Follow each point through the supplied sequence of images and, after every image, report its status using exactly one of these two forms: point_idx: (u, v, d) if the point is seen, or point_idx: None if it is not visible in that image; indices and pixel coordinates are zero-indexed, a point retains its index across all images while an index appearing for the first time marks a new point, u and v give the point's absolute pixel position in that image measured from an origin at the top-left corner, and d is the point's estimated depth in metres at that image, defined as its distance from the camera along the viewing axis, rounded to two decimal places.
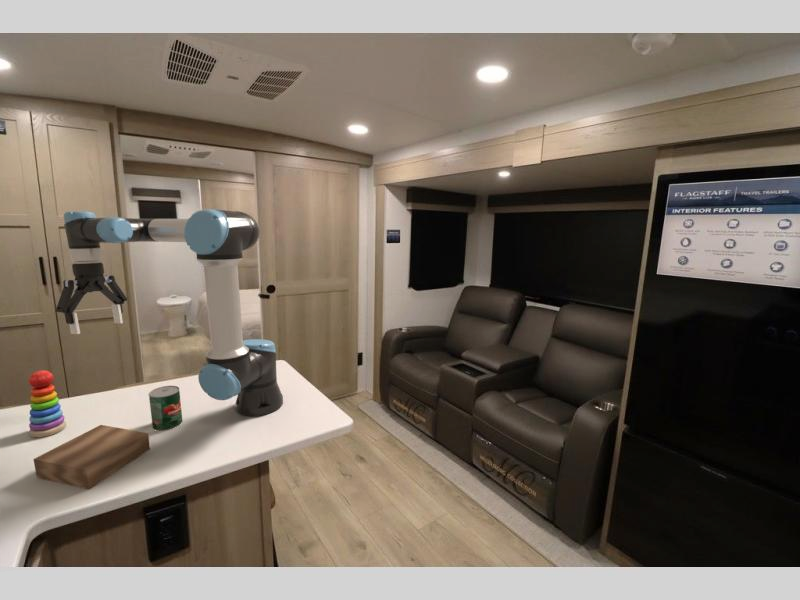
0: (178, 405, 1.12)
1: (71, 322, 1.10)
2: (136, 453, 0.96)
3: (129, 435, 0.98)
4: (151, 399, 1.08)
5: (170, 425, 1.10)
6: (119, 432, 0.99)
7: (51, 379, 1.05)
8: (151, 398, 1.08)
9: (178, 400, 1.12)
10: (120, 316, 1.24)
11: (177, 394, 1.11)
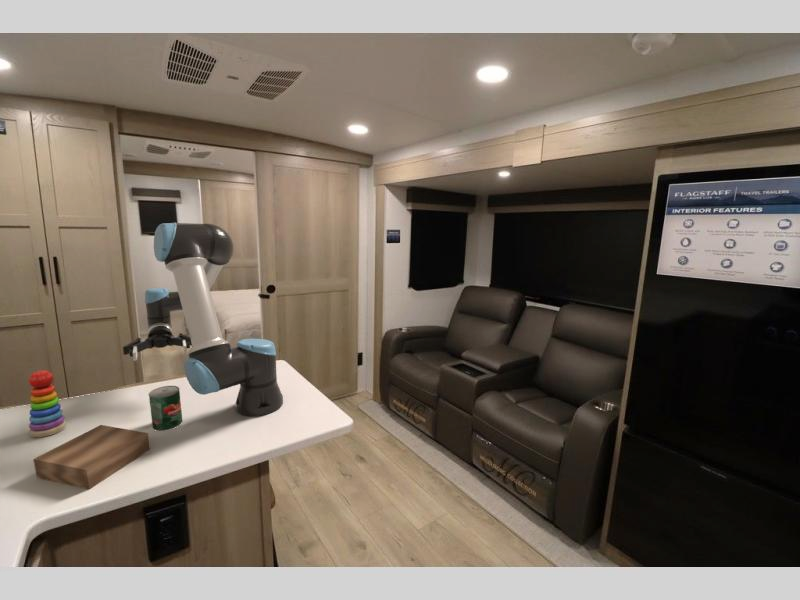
0: (178, 405, 1.12)
1: (130, 351, 1.16)
2: (136, 453, 0.96)
3: (129, 435, 0.98)
4: (151, 399, 1.08)
5: (170, 425, 1.10)
6: (119, 432, 0.99)
7: (51, 379, 1.05)
8: (151, 398, 1.08)
9: (178, 400, 1.12)
10: (184, 343, 1.22)
11: (177, 394, 1.11)
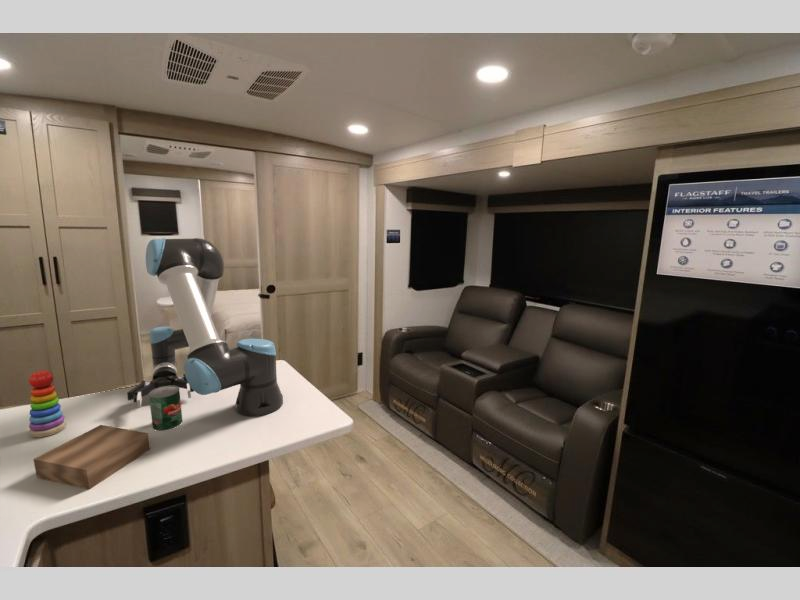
0: (178, 405, 1.12)
1: (135, 397, 1.16)
2: (136, 453, 0.96)
3: (129, 435, 0.98)
4: (151, 399, 1.08)
5: (170, 425, 1.10)
6: (119, 432, 0.99)
7: (51, 379, 1.05)
8: (151, 398, 1.08)
9: (178, 400, 1.12)
10: (188, 387, 1.22)
11: (177, 394, 1.11)
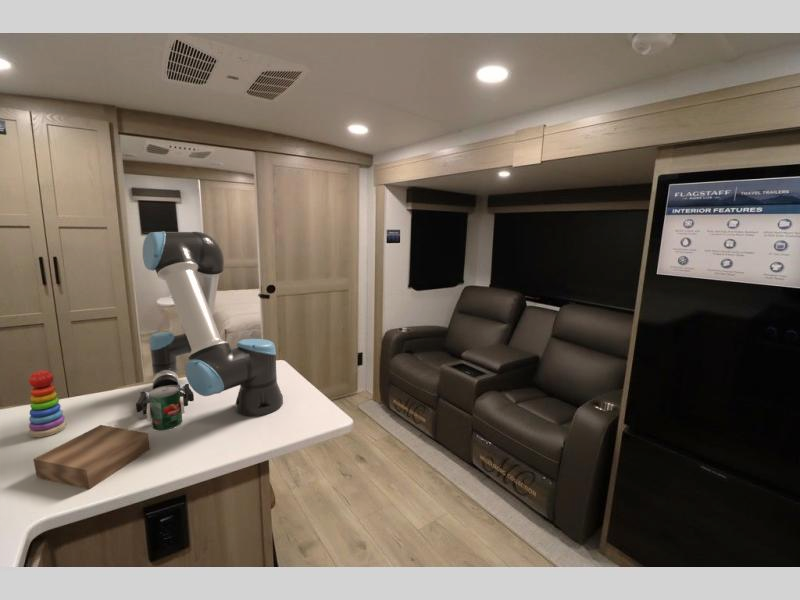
0: (178, 405, 1.12)
1: (144, 409, 1.08)
2: (136, 453, 0.96)
3: (129, 435, 0.98)
4: (151, 399, 1.08)
5: (170, 425, 1.10)
6: (119, 432, 0.99)
7: (51, 379, 1.05)
8: (151, 398, 1.08)
9: (178, 400, 1.12)
10: (181, 402, 1.12)
11: (177, 394, 1.11)
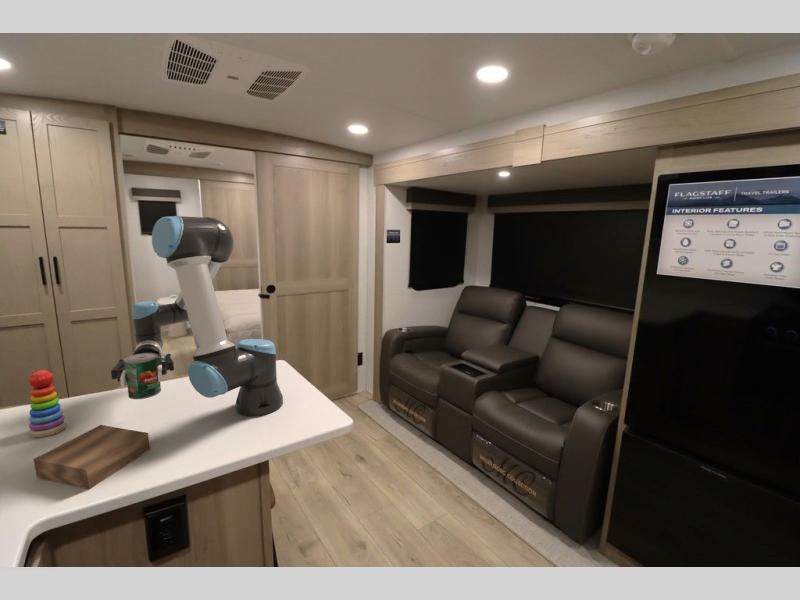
0: (156, 373, 1.05)
1: (119, 376, 1.02)
2: (136, 453, 0.96)
3: (129, 435, 0.98)
4: (126, 365, 1.02)
5: (146, 393, 1.04)
6: (119, 432, 0.99)
7: (51, 379, 1.05)
8: (126, 364, 1.01)
9: (156, 367, 1.05)
10: (159, 369, 1.05)
11: (154, 361, 1.05)
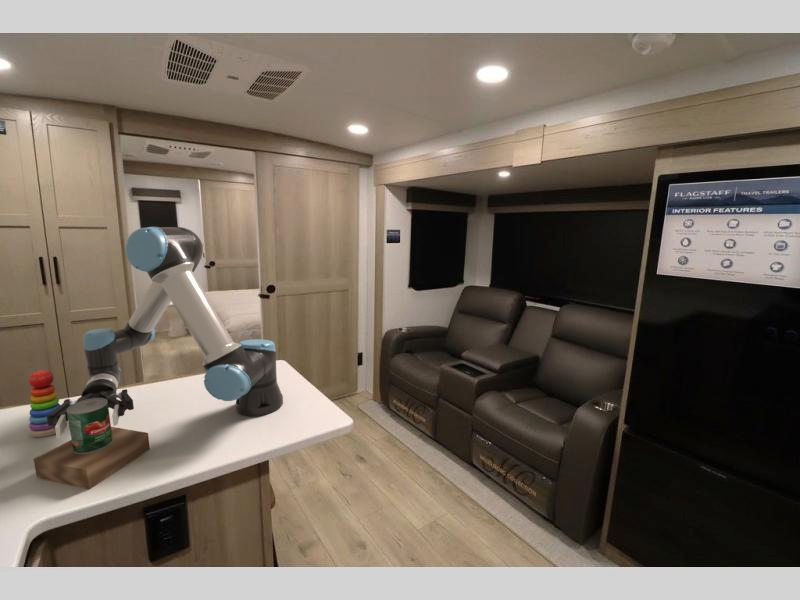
0: (105, 422, 0.92)
1: (55, 423, 0.88)
2: (136, 453, 0.96)
3: (129, 435, 0.98)
4: (69, 415, 0.88)
5: (94, 447, 0.90)
6: (119, 432, 0.99)
7: (51, 379, 1.05)
8: (68, 414, 0.88)
9: (105, 416, 0.92)
10: (114, 411, 0.93)
11: (103, 409, 0.91)
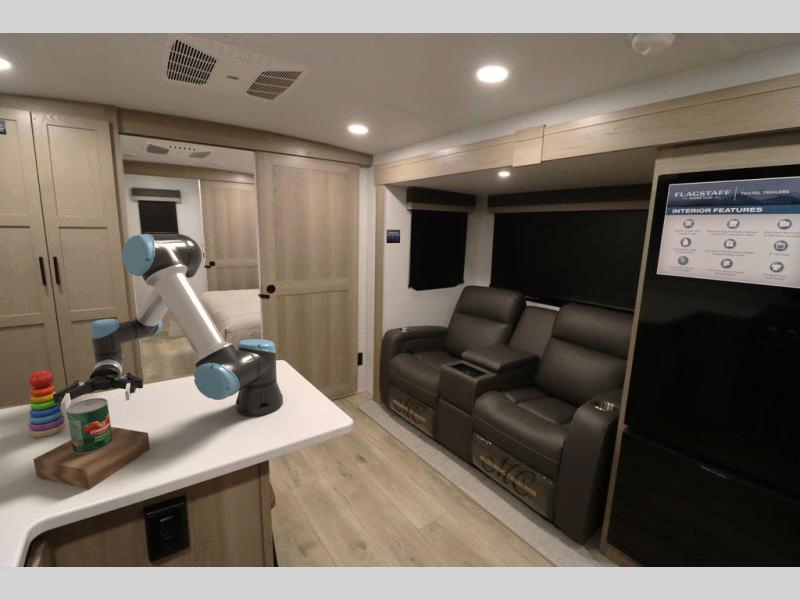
0: (105, 422, 0.92)
1: (60, 400, 0.99)
2: (136, 453, 0.96)
3: (129, 435, 0.98)
4: (68, 415, 0.88)
5: (94, 447, 0.90)
6: (119, 432, 0.99)
7: (51, 379, 1.05)
8: (68, 414, 0.88)
9: (105, 416, 0.92)
10: (127, 388, 1.05)
11: (103, 409, 0.91)
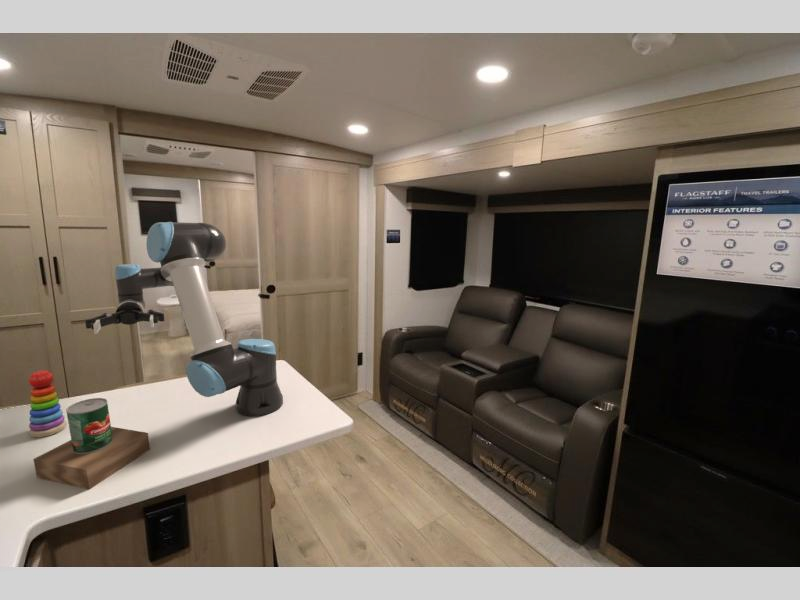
0: (105, 422, 0.92)
1: (92, 324, 1.09)
2: (136, 453, 0.96)
3: (129, 435, 0.98)
4: (68, 416, 0.88)
5: (94, 447, 0.90)
6: (119, 432, 0.99)
7: (51, 379, 1.05)
8: (68, 414, 0.88)
9: (105, 416, 0.92)
10: (151, 317, 1.16)
11: (103, 409, 0.91)
